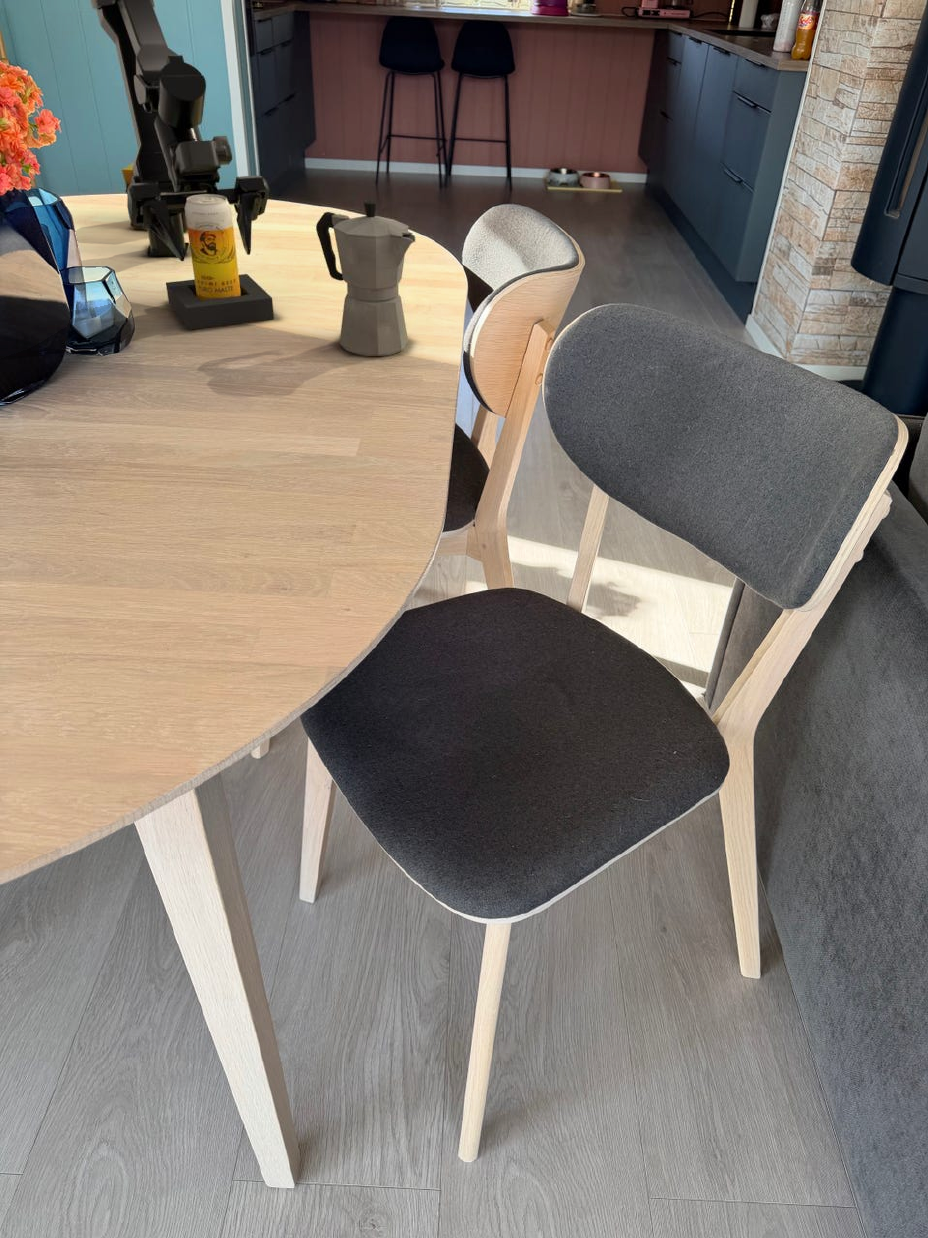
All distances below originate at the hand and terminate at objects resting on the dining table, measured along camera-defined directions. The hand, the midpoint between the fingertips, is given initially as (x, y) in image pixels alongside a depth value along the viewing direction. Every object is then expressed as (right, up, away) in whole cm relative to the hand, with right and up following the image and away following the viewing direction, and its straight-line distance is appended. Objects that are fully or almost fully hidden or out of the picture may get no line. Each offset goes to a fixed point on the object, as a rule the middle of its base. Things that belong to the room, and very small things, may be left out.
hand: (216, 256), depth 123 cm
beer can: (-1, -6, +6) cm, 8 cm away
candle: (-21, +23, +42) cm, 52 cm away
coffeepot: (+21, -13, -2) cm, 25 cm away
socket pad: (-1, -6, +6) cm, 8 cm away
